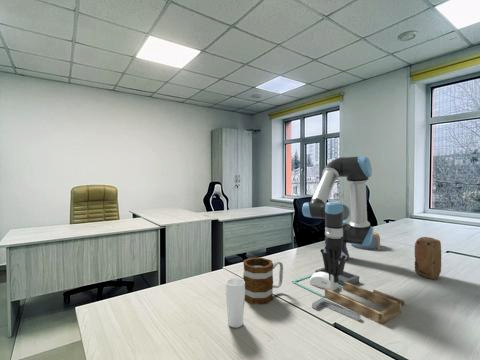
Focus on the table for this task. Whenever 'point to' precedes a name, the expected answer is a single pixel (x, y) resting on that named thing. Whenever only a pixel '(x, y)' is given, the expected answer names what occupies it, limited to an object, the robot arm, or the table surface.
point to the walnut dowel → (389, 297)
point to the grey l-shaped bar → (335, 308)
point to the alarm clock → (374, 243)
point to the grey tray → (343, 277)
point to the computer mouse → (321, 280)
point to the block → (428, 257)
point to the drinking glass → (235, 301)
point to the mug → (260, 280)
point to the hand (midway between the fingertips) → (333, 288)
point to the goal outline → (308, 288)
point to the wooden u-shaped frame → (380, 317)
